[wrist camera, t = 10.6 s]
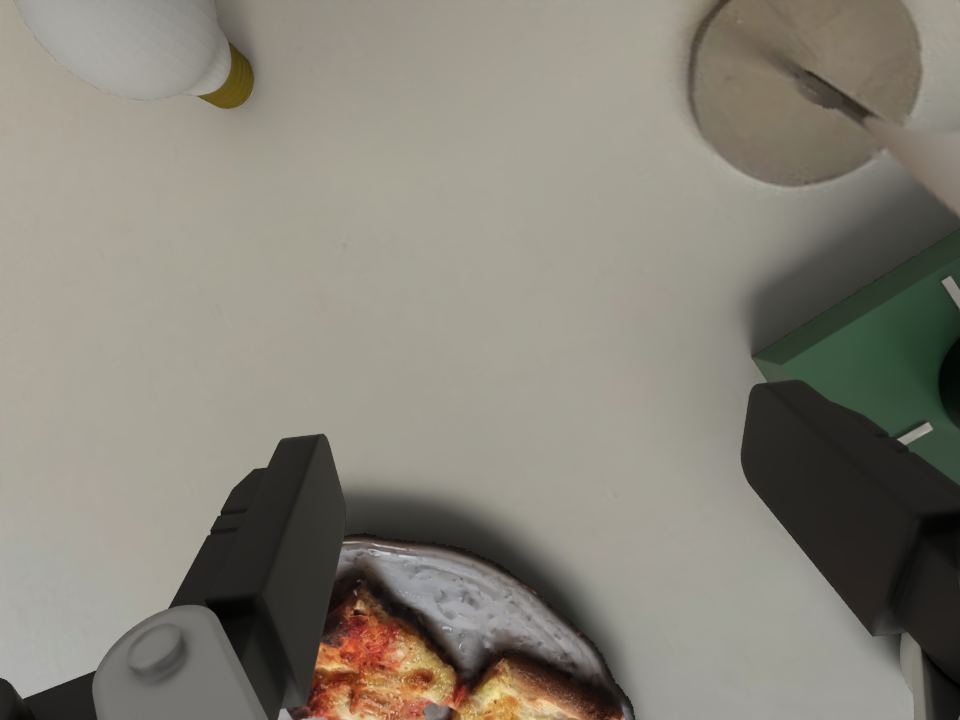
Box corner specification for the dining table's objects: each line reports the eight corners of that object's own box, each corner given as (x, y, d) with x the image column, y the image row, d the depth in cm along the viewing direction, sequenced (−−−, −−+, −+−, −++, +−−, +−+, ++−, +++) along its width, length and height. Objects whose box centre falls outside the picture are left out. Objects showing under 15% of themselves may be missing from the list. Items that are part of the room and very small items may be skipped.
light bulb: (314, 122, 25) (166, 5, 15) (206, 169, 26) (0, 88, 16) (268, -2, 25) (87, -203, 15) (160, 50, 26) (-80, -107, 16)
